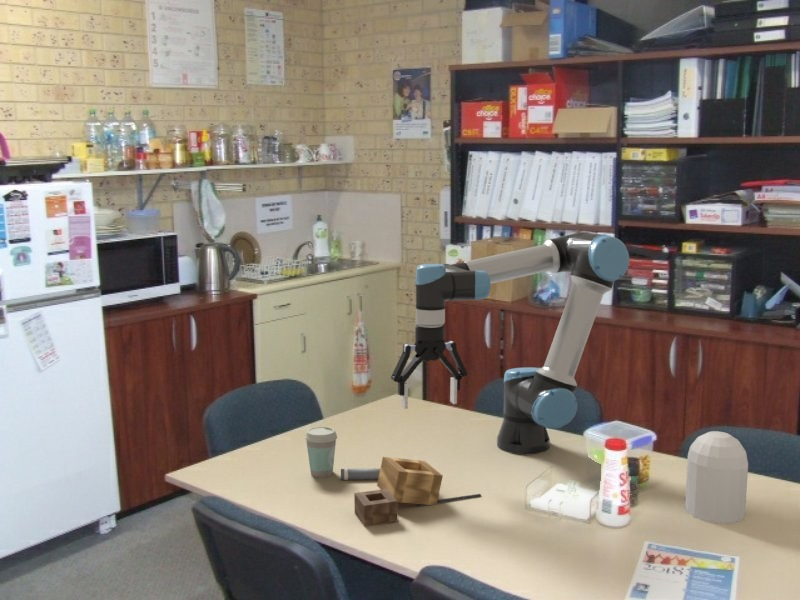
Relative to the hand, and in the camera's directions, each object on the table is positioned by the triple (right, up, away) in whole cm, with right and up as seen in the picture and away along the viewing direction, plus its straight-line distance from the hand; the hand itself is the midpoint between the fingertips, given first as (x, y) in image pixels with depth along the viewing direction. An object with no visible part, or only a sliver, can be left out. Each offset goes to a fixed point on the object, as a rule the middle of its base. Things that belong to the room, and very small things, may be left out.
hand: (429, 405), depth 224 cm
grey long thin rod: (+5, -22, -12) cm, 26 cm away
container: (+67, -23, -20) cm, 74 cm away
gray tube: (-5, -18, +3) cm, 19 cm away
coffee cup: (-28, -19, +7) cm, 35 cm away
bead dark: (-13, -24, -21) cm, 35 cm away
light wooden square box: (-6, -21, -11) cm, 24 cm away
